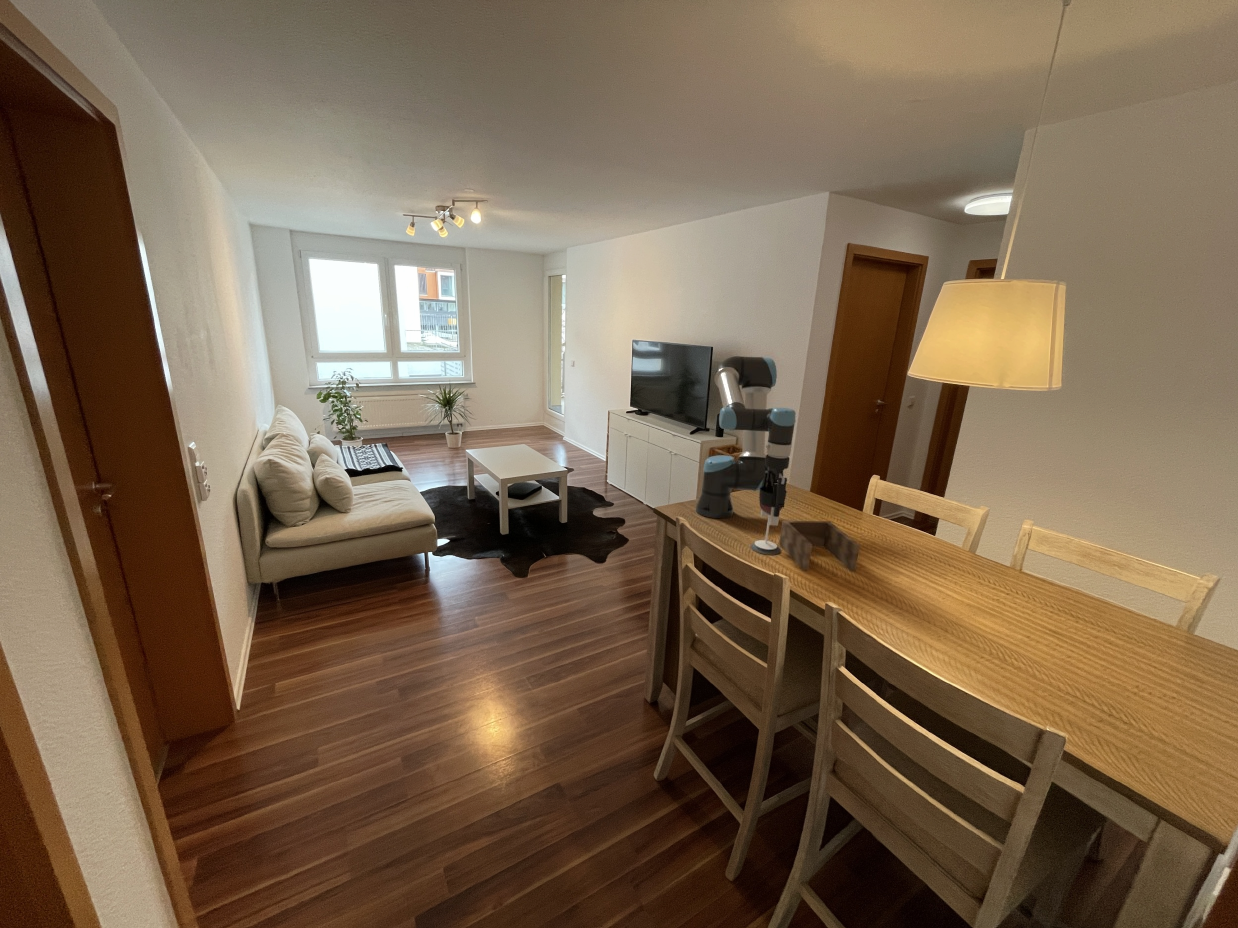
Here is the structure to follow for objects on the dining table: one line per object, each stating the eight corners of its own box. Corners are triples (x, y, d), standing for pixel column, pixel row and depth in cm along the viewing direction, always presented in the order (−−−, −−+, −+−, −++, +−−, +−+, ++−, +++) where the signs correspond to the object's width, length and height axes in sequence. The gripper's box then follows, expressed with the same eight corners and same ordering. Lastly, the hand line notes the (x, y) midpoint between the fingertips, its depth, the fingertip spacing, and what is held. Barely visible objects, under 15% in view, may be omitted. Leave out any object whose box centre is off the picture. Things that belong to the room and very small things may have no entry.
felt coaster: (746, 542, 176) (746, 541, 176) (774, 542, 177) (774, 541, 176) (756, 554, 166) (756, 553, 166) (785, 555, 167) (785, 554, 167)
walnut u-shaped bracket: (779, 544, 176) (782, 520, 173) (825, 544, 177) (829, 521, 175) (803, 570, 156) (807, 544, 154) (855, 571, 158) (860, 545, 155)
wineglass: (781, 550, 167) (789, 494, 162) (756, 549, 167) (763, 493, 162) (775, 540, 175) (782, 486, 170) (750, 539, 175) (757, 485, 170)
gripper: (756, 447, 172) (748, 509, 178) (778, 463, 152) (769, 531, 159) (777, 448, 173) (769, 509, 179) (802, 463, 153) (792, 532, 159)
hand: (769, 520), depth 169 cm, fingers closed on wineglass, 7 cm apart
